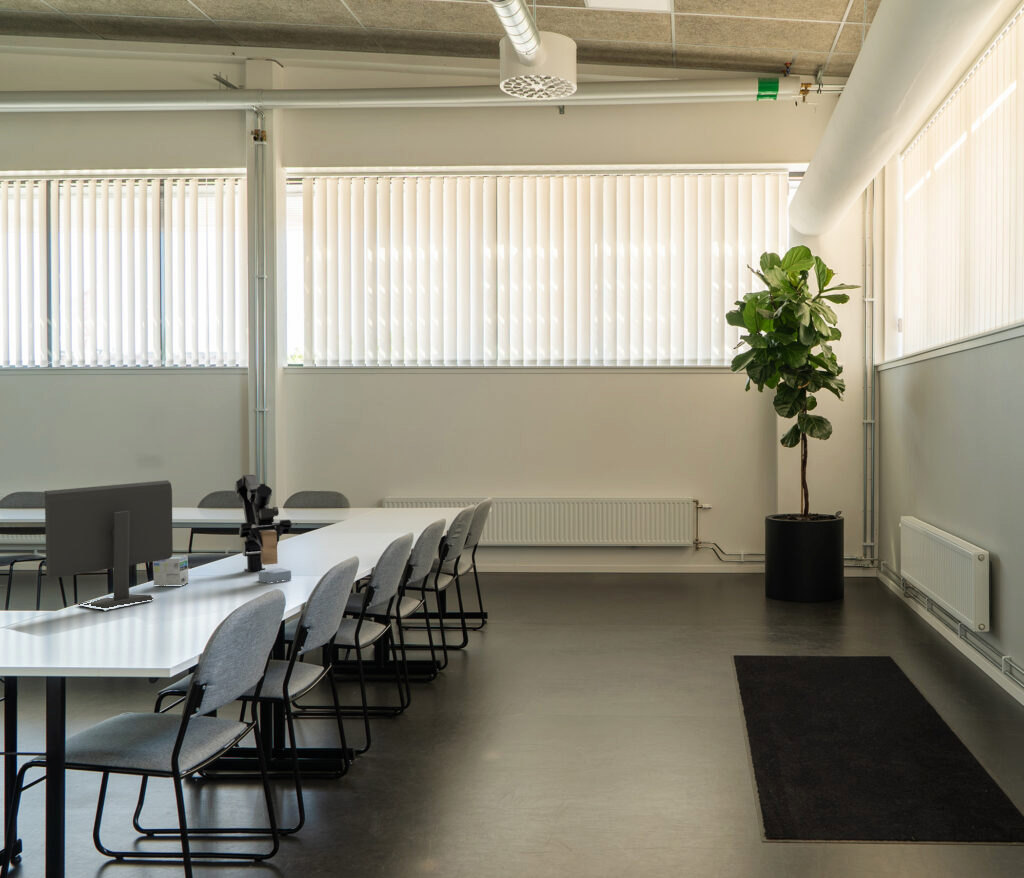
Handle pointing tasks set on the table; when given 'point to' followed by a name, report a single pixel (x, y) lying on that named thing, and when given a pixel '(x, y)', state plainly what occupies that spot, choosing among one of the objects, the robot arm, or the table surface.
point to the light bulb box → (171, 571)
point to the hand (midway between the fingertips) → (269, 546)
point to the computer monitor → (108, 532)
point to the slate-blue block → (274, 575)
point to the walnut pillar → (269, 547)
